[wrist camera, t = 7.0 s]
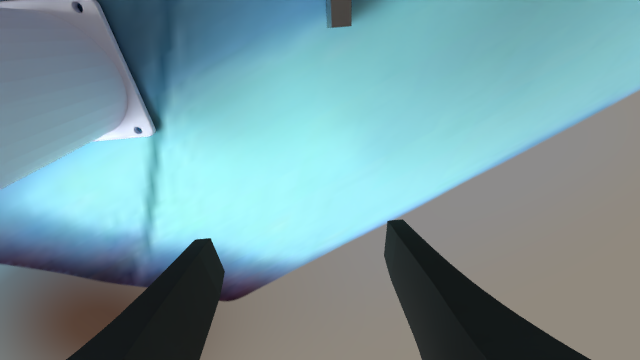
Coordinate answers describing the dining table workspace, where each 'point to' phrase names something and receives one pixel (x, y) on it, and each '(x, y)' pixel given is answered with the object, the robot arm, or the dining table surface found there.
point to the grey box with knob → (338, 13)
